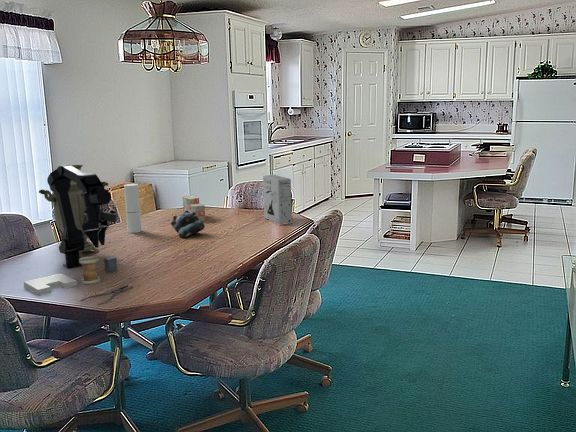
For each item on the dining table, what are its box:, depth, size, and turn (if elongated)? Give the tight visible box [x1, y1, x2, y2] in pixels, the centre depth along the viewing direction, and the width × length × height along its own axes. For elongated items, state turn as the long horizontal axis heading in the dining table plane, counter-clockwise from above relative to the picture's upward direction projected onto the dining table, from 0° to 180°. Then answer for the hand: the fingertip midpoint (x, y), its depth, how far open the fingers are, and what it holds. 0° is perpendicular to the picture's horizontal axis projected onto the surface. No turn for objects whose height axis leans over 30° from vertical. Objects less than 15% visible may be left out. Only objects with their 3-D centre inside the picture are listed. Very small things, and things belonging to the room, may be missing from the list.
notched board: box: [23, 272, 78, 296], centre depth 212 cm, size 14×14×2 cm
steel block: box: [103, 255, 118, 274], centre depth 229 cm, size 4×4×6 cm
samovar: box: [38, 164, 109, 255], centre depth 254 cm, size 30×26×40 cm
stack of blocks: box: [182, 195, 206, 222], centre depth 331 cm, size 21×6×12 cm, turn 28°
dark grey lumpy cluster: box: [170, 211, 206, 239], centre depth 289 cm, size 15×12×14 cm
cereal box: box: [262, 174, 293, 225], centre depth 317 cm, size 22×8×25 cm, turn 25°
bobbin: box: [79, 255, 101, 285], centre depth 215 cm, size 7×7×9 cm
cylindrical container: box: [123, 183, 142, 234], centre depth 299 cm, size 7×7×25 cm
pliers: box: [80, 284, 134, 306], centre depth 201 cm, size 10×1×20 cm
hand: (100, 246), depth 220 cm, fingers open, 9 cm apart
